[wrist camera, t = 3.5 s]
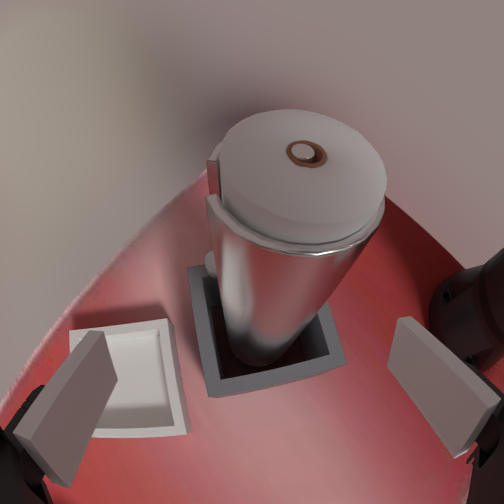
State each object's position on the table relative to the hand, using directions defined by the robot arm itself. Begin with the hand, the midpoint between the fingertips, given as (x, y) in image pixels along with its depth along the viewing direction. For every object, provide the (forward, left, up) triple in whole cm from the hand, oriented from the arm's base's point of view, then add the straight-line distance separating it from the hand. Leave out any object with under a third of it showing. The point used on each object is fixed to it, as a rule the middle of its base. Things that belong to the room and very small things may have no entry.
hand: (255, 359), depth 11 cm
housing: (-2, -5, -19) cm, 19 cm away
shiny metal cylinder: (-2, -5, -19) cm, 20 cm away
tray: (+13, -2, -19) cm, 23 cm away
